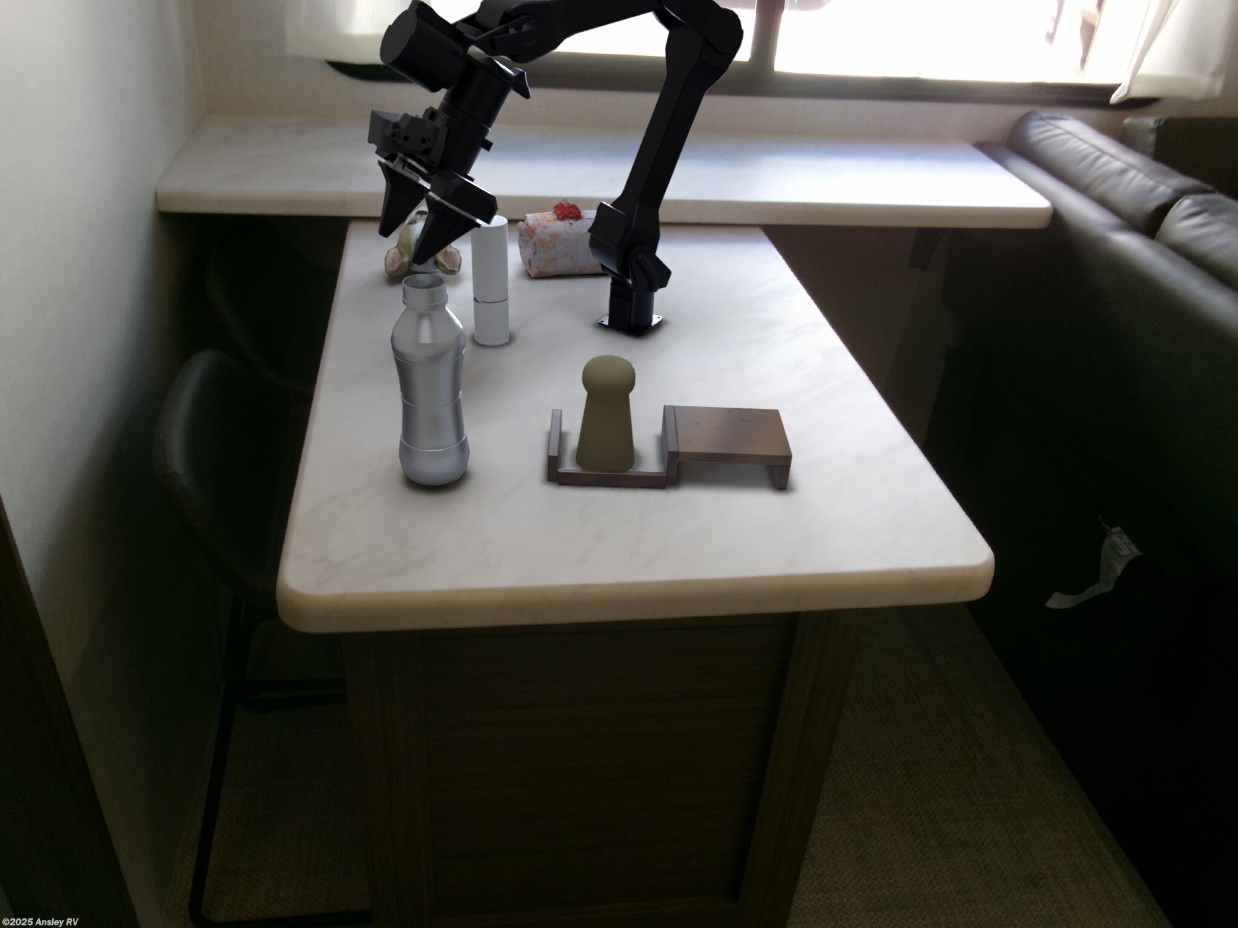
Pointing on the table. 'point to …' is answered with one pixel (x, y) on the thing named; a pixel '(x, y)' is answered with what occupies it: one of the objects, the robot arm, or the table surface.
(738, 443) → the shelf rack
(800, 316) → the table surface
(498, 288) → the tube
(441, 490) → the table surface
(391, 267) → the ceramic sculpture
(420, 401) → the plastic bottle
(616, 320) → the robot arm
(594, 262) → the food item
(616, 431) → the olive green pawn
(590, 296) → the table surface
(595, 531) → the table surface
